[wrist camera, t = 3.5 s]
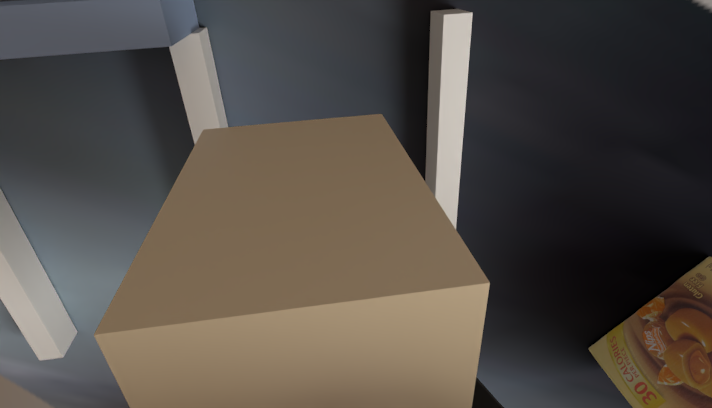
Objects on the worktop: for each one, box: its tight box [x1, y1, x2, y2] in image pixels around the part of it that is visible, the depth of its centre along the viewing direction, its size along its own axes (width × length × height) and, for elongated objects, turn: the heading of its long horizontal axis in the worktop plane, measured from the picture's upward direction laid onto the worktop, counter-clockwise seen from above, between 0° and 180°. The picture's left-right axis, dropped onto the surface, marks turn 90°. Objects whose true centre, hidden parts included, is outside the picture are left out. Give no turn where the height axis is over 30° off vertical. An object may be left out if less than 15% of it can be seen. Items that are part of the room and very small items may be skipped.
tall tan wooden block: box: [94, 114, 490, 408], centre depth 9 cm, size 10×4×6 cm, turn 3°
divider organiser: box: [0, 0, 473, 361], centre depth 16 cm, size 14×19×4 cm
